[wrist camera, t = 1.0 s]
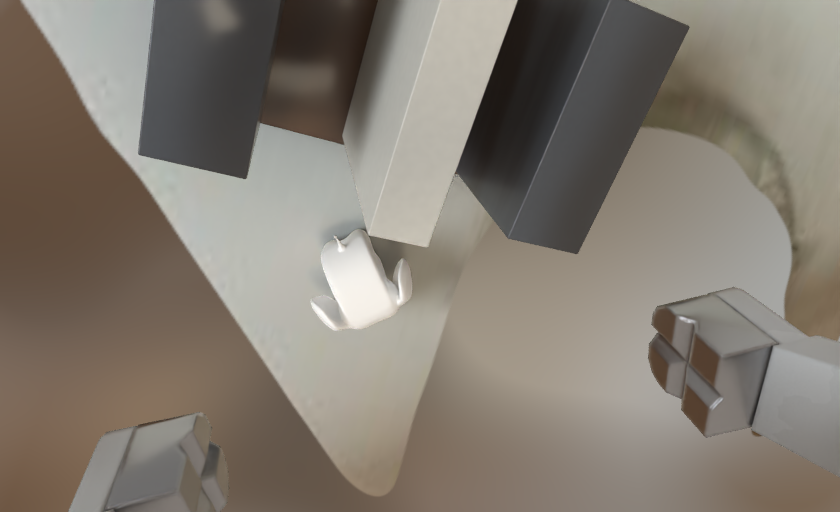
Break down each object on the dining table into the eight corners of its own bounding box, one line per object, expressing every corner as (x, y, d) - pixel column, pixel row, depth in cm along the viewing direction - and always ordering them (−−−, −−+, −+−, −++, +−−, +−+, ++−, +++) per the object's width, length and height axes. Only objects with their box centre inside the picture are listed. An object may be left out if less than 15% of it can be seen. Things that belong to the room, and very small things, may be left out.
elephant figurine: (335, 318, 40) (341, 370, 35) (285, 231, 36) (282, 276, 31) (418, 282, 40) (436, 329, 35) (377, 191, 36) (390, 229, 30)
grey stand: (190, 100, 31) (136, 167, 20) (225, -141, 26) (176, -213, 16) (496, 181, 37) (573, 263, 27) (569, -1, 32) (697, 13, 22)
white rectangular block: (342, 136, 32) (367, 235, 20) (394, -63, 28) (466, -86, 16) (380, 146, 33) (428, 248, 21) (437, -46, 29) (538, -55, 17)
